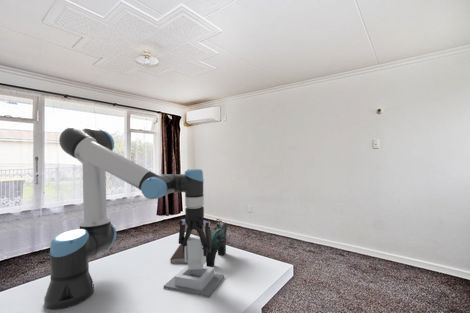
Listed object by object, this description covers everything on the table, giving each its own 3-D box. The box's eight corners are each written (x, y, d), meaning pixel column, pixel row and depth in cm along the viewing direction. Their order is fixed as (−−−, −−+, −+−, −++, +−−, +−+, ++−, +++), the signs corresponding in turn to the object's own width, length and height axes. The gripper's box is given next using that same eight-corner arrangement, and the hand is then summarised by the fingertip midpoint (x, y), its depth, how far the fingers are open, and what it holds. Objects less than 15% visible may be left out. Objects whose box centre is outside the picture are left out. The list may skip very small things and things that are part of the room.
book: (170, 264, 114) (170, 257, 114) (180, 248, 133) (179, 243, 133) (195, 264, 113) (195, 257, 113) (201, 248, 133) (201, 243, 133)
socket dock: (163, 288, 92) (163, 276, 92) (183, 270, 106) (183, 260, 106) (209, 297, 85) (209, 285, 85) (224, 277, 99) (224, 267, 99)
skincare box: (203, 264, 98) (202, 236, 98) (202, 269, 94) (202, 239, 94) (188, 265, 98) (188, 236, 98) (187, 270, 93) (186, 240, 93)
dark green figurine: (219, 251, 128) (218, 214, 128) (230, 252, 126) (229, 215, 126) (202, 267, 109) (202, 224, 109) (215, 269, 107) (214, 226, 107)
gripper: (220, 206, 96) (221, 261, 96) (178, 203, 103) (179, 255, 102) (212, 209, 89) (213, 269, 89) (168, 207, 95) (169, 263, 95)
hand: (195, 262), depth 96 cm, fingers closed on skincare box, 7 cm apart
